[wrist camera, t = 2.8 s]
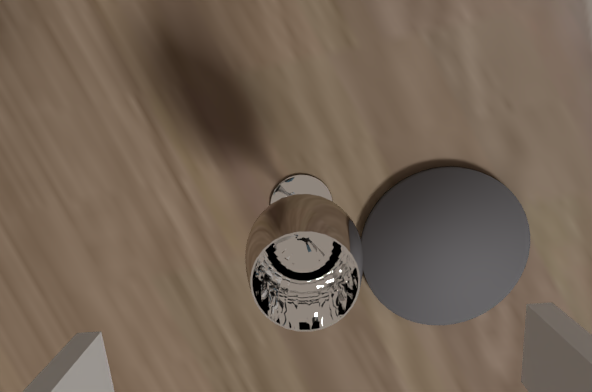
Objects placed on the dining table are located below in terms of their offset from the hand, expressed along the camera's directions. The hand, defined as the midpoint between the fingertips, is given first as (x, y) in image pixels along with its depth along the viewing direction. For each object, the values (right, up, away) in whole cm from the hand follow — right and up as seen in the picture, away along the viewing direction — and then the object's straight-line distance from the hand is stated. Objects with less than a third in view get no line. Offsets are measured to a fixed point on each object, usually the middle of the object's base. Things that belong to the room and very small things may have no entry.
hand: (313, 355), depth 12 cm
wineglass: (0, +4, +16) cm, 17 cm away
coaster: (+10, +1, +17) cm, 20 cm away
